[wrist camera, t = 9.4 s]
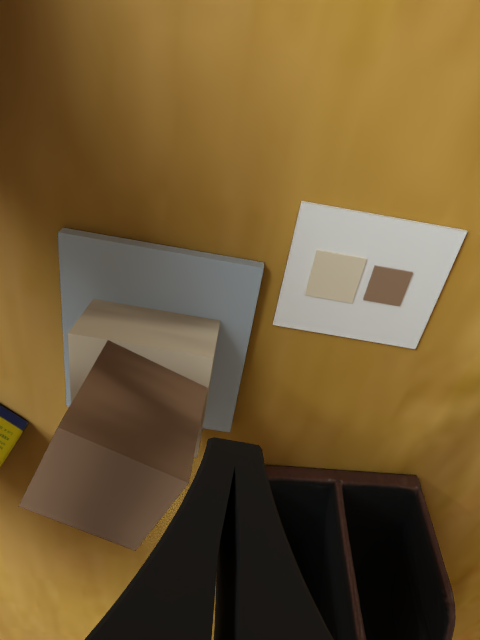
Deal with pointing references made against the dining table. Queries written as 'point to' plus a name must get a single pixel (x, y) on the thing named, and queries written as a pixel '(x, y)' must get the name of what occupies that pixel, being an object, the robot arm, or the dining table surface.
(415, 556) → the letter holder
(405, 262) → the page
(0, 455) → the supplement box
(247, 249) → the dining table surface
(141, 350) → the beech brick
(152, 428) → the walnut brick
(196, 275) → the board
